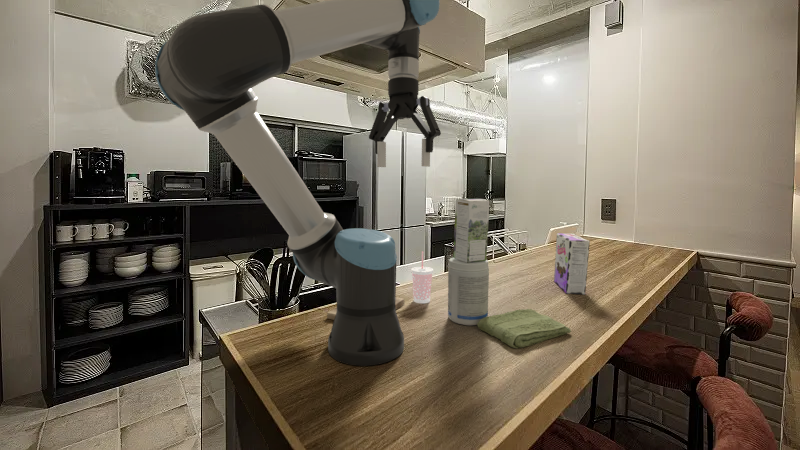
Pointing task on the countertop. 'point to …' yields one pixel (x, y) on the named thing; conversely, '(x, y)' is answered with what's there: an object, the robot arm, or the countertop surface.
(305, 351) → the countertop surface
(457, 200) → the syrup box
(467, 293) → the supplement tub
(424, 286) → the beverage cup
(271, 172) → the robot arm
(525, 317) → the washcloth
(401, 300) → the beech cutting board
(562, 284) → the candy box
